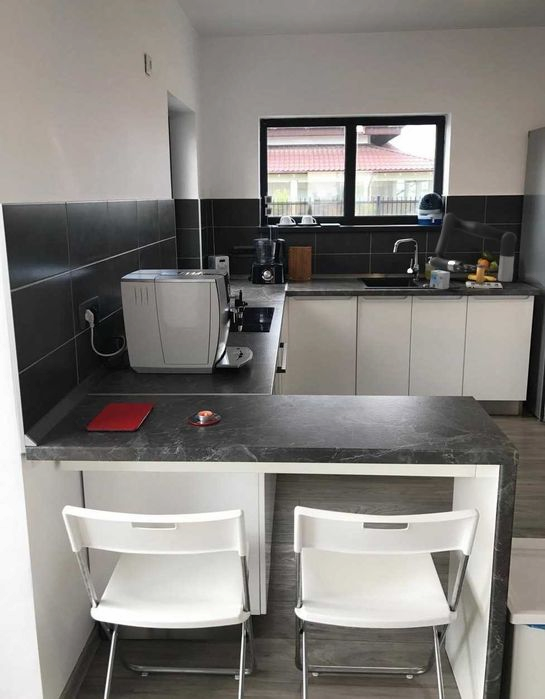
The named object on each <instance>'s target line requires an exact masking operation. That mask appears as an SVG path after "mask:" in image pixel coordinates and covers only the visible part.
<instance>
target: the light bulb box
mask: <svg viewBox="0 0 545 699" xmlns="http://www.w3.org/2000/svg"><path fill="white" fill-rule="evenodd" d="M450 276H451V272H450V271H447V270H441V269H436V270H431V271H430V282H429V288H434V289H439V290H447V289H450V288H449V287H450V278H451V277H450Z"/></svg>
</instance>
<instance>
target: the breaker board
mask: <svg viewBox="0 0 545 699" xmlns="http://www.w3.org/2000/svg"><path fill="white" fill-rule="evenodd" d="M465 285H466V288H469V287H471V288H473V287H474V288H475V289H489V288H502V289H503V286H502V284H501V283H500V282H484V283H476V281H466V282H465ZM474 288H473V289H474Z"/></svg>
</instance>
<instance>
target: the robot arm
mask: <svg viewBox="0 0 545 699" xmlns="http://www.w3.org/2000/svg"><path fill="white" fill-rule="evenodd" d="M442 219H443V220H442V228H441V231H440V232H441V233H440V235H439V239H438V241H437V244H436V248H435V252H434V253H435V255H436V257H432V258H430V261H429V265H430V266H431V267H432V268H435V269H436V270H444V271H449V272H450V271H451V272H455V273H462V272H470V273H471V272H473V271H477V265H473V264H466V263H465V262H464V261H460V260H454V259H453V260H452V259H446V253H447V248H448V245H449V242H450V236H451V232H452V230H456V231H457V230H458V231H461V232H463V233H467V234H470V235H472V236H474V237H477V238H482V239H489V240H495V241H498V242H500V249H499V250H500V254H499V261H498V262H499V264H498V273H497V281H499V282H513V277H514V276H513V274H514V262H515V249H516V242H517V235H516V234H515V233H514V232H512V231H507V230H502V229H498V228H495V227H493V226H490V225H488V224H485V223H482V222H478V221H469V220H468V221H467V220H463V219H461V218H459V217H457V215H455V213H453V212H447V213H446V214H444V215H443V218H442Z"/></svg>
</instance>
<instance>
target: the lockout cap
mask: <svg viewBox="0 0 545 699" xmlns="http://www.w3.org/2000/svg"><path fill="white" fill-rule="evenodd" d="M476 266H477V270H476V276H475V277H476V279H475V282H476V283H484V280H485V269H486V265H485V264H479V263H478V264H477V265H476Z"/></svg>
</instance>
